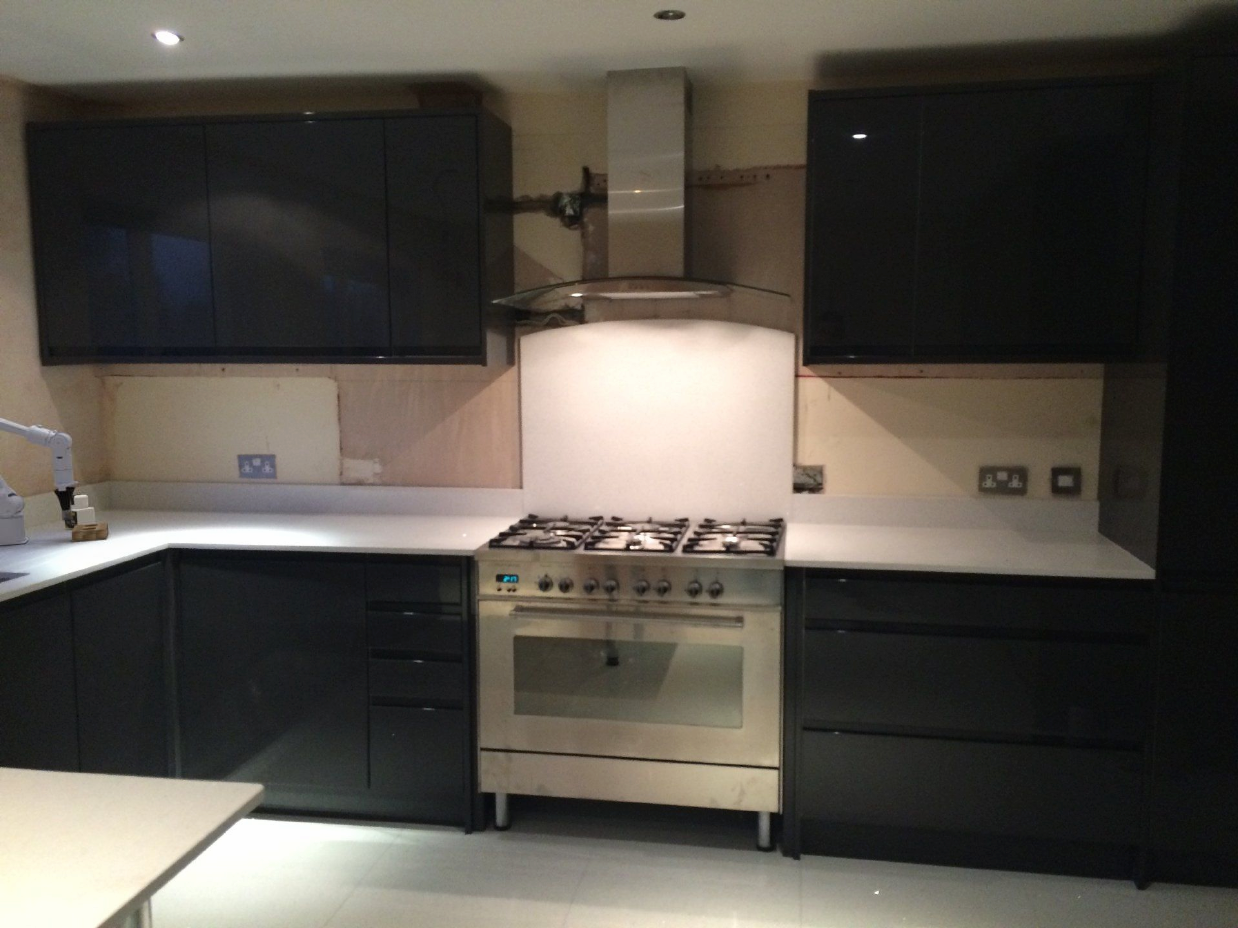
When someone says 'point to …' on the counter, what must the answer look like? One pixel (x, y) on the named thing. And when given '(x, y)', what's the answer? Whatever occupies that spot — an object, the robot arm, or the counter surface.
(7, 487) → the robot arm
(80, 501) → the medicine bottle
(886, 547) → the counter surface
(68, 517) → the steel pin
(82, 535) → the hole block
